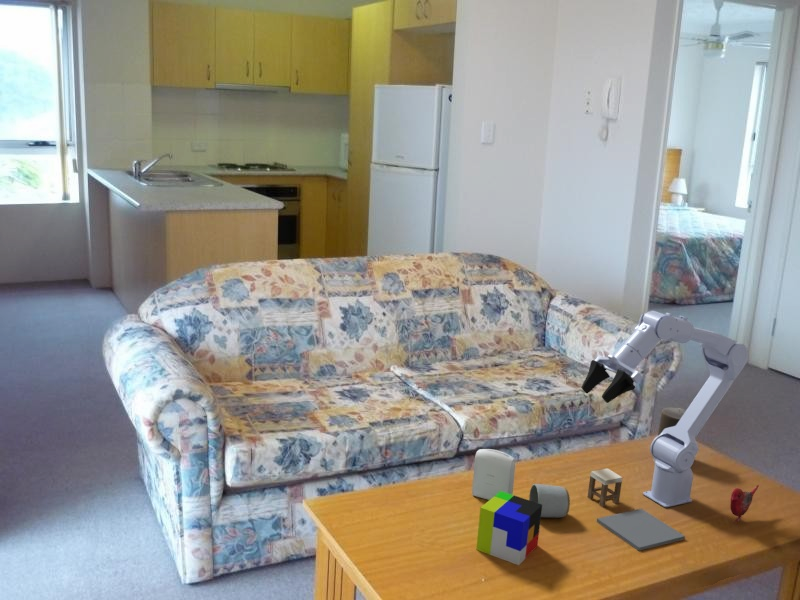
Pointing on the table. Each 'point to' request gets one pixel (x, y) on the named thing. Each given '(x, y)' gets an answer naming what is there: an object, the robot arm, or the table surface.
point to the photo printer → (492, 473)
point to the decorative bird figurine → (741, 502)
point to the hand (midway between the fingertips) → (594, 395)
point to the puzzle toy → (509, 527)
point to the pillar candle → (670, 418)
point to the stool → (605, 485)
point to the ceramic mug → (551, 500)
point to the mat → (640, 529)
